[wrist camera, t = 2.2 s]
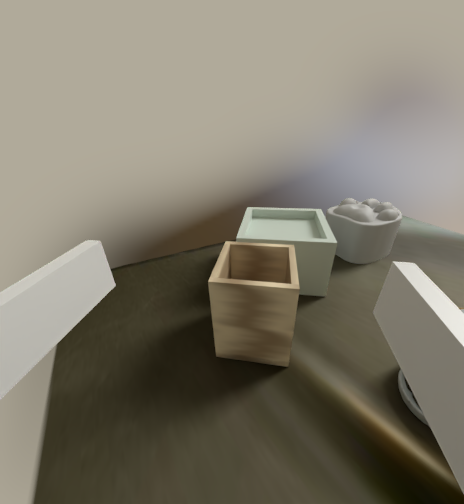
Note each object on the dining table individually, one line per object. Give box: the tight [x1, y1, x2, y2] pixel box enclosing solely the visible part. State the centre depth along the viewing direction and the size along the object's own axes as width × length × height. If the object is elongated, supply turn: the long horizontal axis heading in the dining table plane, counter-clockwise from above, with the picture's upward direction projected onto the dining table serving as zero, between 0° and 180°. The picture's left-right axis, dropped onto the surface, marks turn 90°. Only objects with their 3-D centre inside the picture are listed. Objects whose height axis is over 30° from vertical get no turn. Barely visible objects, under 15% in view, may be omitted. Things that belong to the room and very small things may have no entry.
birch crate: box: [208, 241, 300, 367], centre depth 24 cm, size 8×8×10 cm
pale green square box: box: [236, 207, 337, 297], centre depth 36 cm, size 13×13×8 cm
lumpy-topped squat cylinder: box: [326, 198, 402, 264], centre depth 42 cm, size 10×13×9 cm
